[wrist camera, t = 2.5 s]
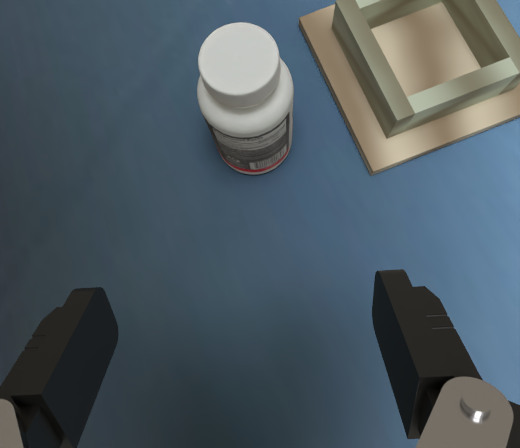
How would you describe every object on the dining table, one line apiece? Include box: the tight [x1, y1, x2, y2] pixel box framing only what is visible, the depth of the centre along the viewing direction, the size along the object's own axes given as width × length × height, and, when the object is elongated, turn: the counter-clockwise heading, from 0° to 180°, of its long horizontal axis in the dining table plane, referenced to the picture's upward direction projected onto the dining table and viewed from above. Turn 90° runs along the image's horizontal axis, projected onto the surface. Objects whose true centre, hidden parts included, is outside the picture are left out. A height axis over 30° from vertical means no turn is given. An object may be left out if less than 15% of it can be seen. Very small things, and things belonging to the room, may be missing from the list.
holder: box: [299, 0, 520, 175], centre depth 28 cm, size 13×13×4 cm
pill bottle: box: [197, 23, 294, 175], centre depth 24 cm, size 5×5×10 cm
